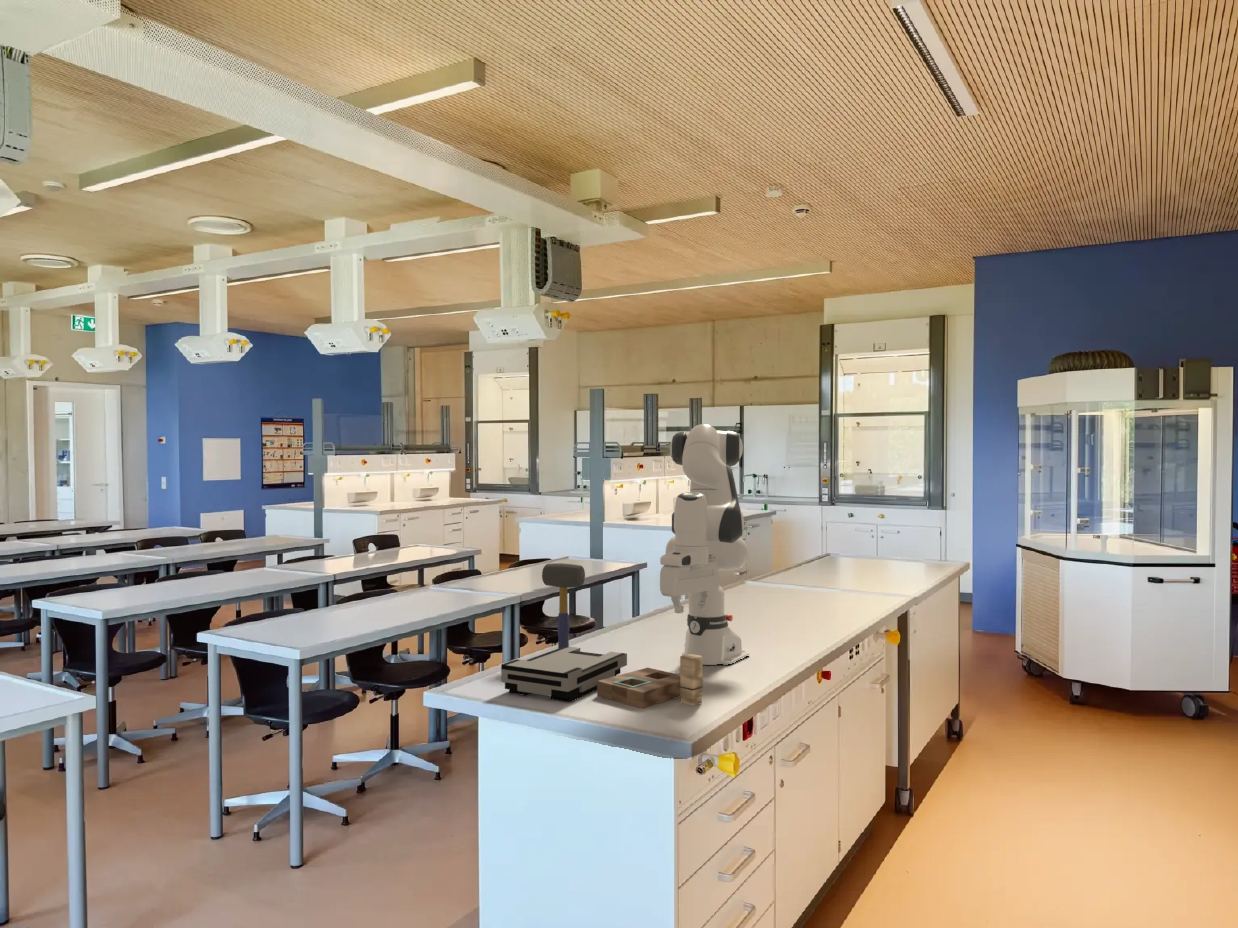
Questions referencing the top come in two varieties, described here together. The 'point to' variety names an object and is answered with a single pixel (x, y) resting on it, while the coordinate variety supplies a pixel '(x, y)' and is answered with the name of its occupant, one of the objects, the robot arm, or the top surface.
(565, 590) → the rubber mallet
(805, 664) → the top surface
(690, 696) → the peg
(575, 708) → the top surface
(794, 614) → the top surface
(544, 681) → the game console
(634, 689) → the board
